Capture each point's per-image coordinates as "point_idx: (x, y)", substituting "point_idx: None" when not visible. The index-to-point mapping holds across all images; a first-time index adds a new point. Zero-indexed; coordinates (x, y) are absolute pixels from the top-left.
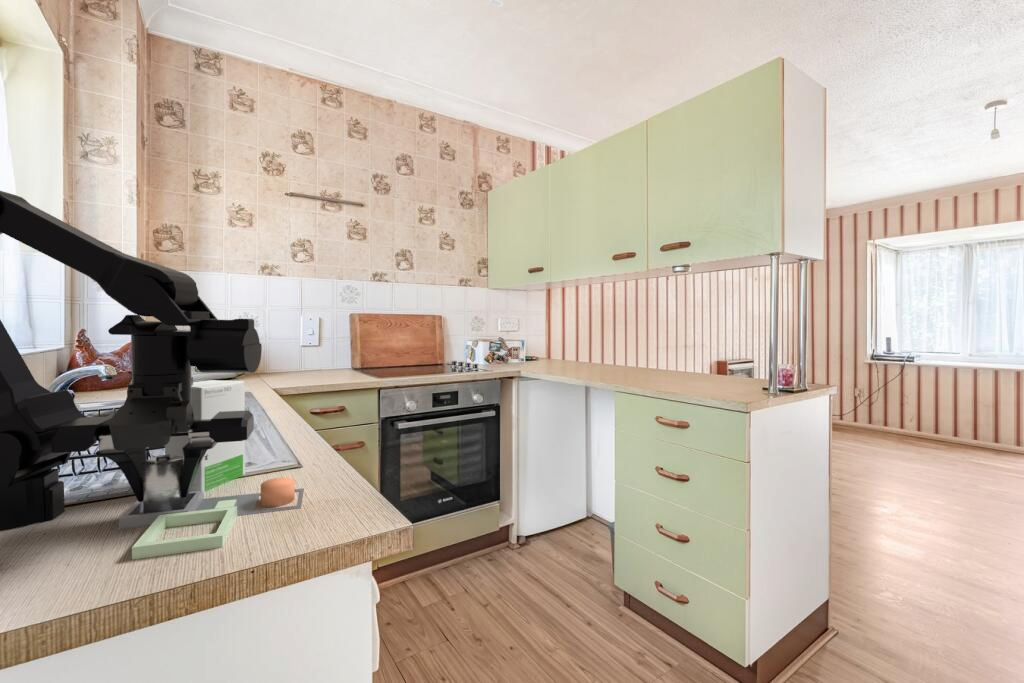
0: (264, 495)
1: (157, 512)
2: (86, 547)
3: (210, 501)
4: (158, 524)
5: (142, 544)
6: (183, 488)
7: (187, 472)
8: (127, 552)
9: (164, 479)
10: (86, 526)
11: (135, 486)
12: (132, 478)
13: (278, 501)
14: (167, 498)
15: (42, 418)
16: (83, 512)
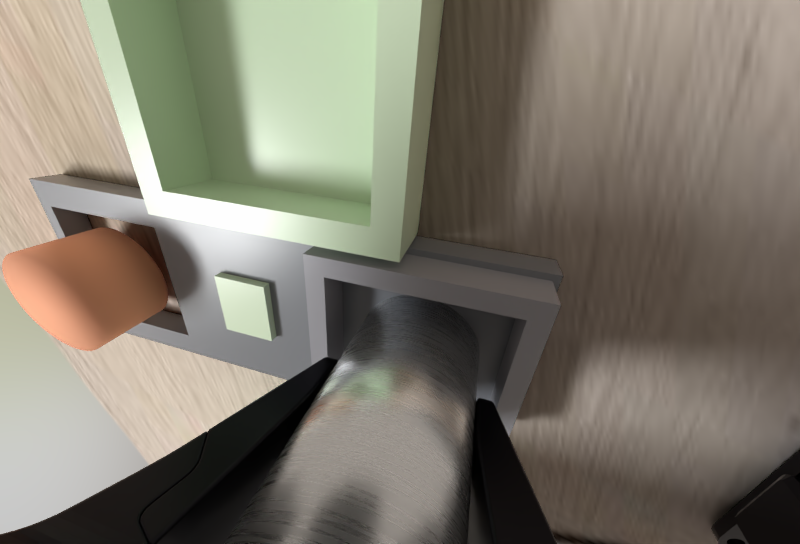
0: (98, 263)
1: (413, 295)
2: (660, 228)
3: (304, 362)
4: (378, 142)
5: None
6: (309, 383)
7: (226, 443)
8: (504, 97)
9: (338, 434)
10: (654, 409)
11: (504, 471)
12: (522, 534)
13: (82, 233)
14: (371, 347)
15: None
16: (660, 505)
